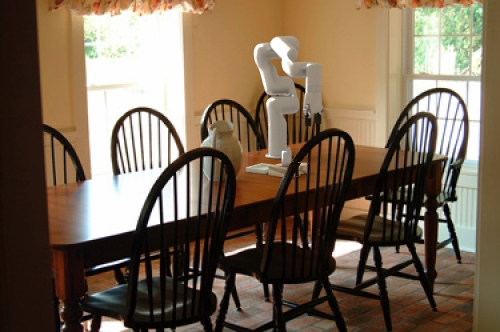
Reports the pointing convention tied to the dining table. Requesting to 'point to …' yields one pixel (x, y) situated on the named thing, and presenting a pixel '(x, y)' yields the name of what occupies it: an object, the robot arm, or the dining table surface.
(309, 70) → the robot arm
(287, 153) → the white upright block
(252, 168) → the rack tray
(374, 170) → the dining table surface
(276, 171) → the crumpled beige cloth
